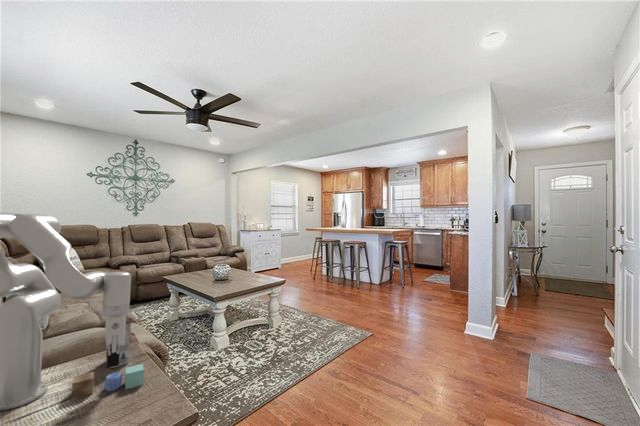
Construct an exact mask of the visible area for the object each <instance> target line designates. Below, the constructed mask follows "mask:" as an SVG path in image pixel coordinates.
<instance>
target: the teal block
mask: <svg viewBox="0 0 640 426" xmlns="http://www.w3.org/2000/svg"><path fill="white" fill-rule="evenodd" d="M124 370H125V373H124V388H125V390H129V389H132V388H136V387H140V386H143V385H144V379H145V378H144V376H145V375H144V373H145V372H144V371H145V370H144V364H143V363H141V364H136V365H133V366H127V367H125V369H124Z"/></svg>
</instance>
